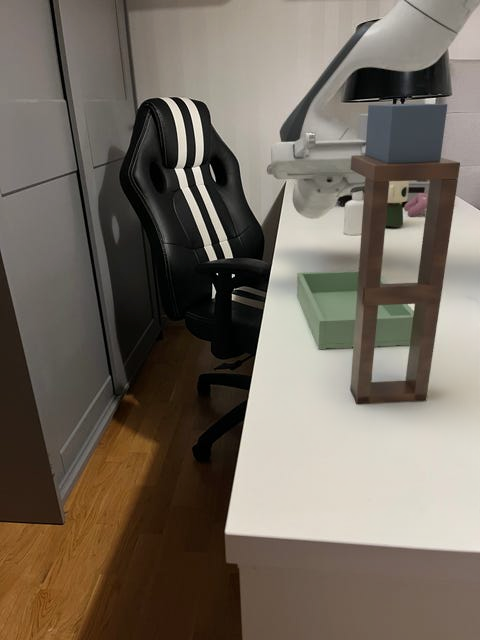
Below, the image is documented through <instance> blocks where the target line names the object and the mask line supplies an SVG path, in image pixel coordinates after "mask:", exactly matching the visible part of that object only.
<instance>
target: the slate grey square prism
mask: <svg viewBox="0 0 480 640" xmlns="http://www.w3.org/2000/svg"><path fill="white" fill-rule="evenodd" d="M447 112H448V104H447V103H391V104H388V103H385V104H368V109H367V113H358V115H357V116H358V119H357V131H356V132H357V139H360V140H364V141H366V149H365V155H367V156H369V157H372V158H375V159H377V160H380V161H383V162H385V163H388V164H390V163H419V162H440V159H441V158H442V150H443V142H444V135H445V127H446V126H445V125H446V119H447Z"/></svg>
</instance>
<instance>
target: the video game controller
mask: <svg viewBox="0 0 480 640" xmlns="http://www.w3.org/2000/svg"><path fill="white" fill-rule="evenodd" d="M427 200H428V195H427V194H425V193H419V194H418V195H416V196H415V197H414V198H413V199H412V200H410V201H409V202H407V203H406V204H405V206H404V207H403V210H404V211H406V212H407V216H408V217H416V216H420V215H421V214H422V213H423V212H424V211H426V208H427Z"/></svg>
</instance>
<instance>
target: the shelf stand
mask: <svg viewBox="0 0 480 640" xmlns="http://www.w3.org/2000/svg"><path fill="white" fill-rule="evenodd" d="M460 168H461V162H459V161H456V160H451V159H447V158H444V157H441V159H440V162H419V163H390V164H388V163H385V162H383V161H380V160H377V159H375V158H372V157H369V156H367V155H355V156H351V170H352V171H354V172H356V173H358V174H360V175H362V176H364V177H366V178H365V189H364V203H363V217H362V231H361V234H360V247H359V261H358V263H359V264H358V270H359V273H358V287H357V302H356V316H355V330H354V344H353V348H352V359H351V373H350V388H349V391H350V393H351V395H352V397H353V399H354V401H355V404H356V405H364V404H365V405H366V404H367V405H368V404H386V403H405V402H404V401H410V402H427V398H428V390H429V383H430V376H431V370H432V363H433V362H432V361H433V355H434V349H435V348H434V347H435V341H436V334H437V329H438V321H439V314H440V306H441V300H442V294H443V288H444V279H445V271H446V265H447V257H448V252H449V245H450V238H451V230H452V224H453V216H454V210H455V203H456V195H457V188H458V183H459V180H458V179H459V175H460ZM417 180H430V184H429V192H428V200H427V208H426V209H425V218H424V225H423V234H422V241H421V248H420V249H421V250H420V258H419V266H418V275H417V282H401V283H400V282H398V283H396V282H395V283H388V284H380V281H381V276H382V269H383V260H384V259H383V258H384V247H385V236H386V235H385V234H386V226H387V225H386V214H387V203H388V192H389V181H417ZM397 304H408V305H414V307H413V311H414V315H413V323H412V331H411V339H410V345H409V349H408V357H407V364H406V372H405V373H406V374H405V380H388V381H384V380H383V381H372V380H373V367H374V358H375V357H374V356H375V348H376V347H375V336H376V325H377V314H378V305H397ZM424 400H425V401H424ZM401 401H402V402H401Z"/></svg>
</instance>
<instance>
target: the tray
mask: <svg viewBox="0 0 480 640" xmlns="http://www.w3.org/2000/svg"><path fill="white" fill-rule="evenodd" d="M358 273H359V269H357V270H337V271H336V270H334V271H332V270H331V271H311V272H306V271H305V272H297V273H296V297H297V299H298V302H299V305H300V307H301V310H302V312H303V315H304V317H305V320H306V322H307V324H308V326H309V330H310V332H311V334H312V337H313V339H314V342H315V344H316V347H317V349H318V350H327V349H326V348H336V349H353V348H352V347H353V344H354V330H355V316H356V302H357V287H358ZM380 284H389V283H388V281H386V280H385V278H384V277H383V276H382V275H381V281H380ZM413 315H414V309H412V307H411V306H410V304H397V305H378V314H377V325H376V336H375V347H374V348H377V347H378V346H381V347H397V346H396V345H404V346H410V339H411V331H412V323H413Z"/></svg>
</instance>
